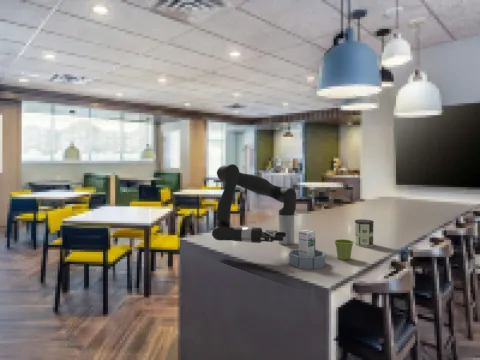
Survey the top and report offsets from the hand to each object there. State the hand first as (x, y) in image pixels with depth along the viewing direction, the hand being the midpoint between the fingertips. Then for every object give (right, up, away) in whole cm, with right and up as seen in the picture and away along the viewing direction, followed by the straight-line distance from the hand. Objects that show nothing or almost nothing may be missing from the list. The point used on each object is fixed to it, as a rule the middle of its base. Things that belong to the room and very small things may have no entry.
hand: (284, 236), depth 163 cm
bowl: (+11, -12, -2) cm, 17 cm away
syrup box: (+10, -11, -3) cm, 16 cm away
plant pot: (+30, -12, +6) cm, 33 cm away
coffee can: (+51, -11, +33) cm, 61 cm away
